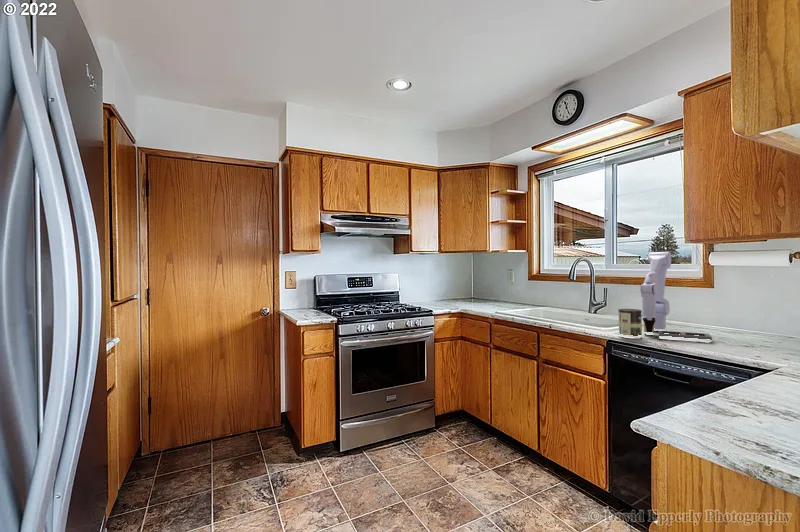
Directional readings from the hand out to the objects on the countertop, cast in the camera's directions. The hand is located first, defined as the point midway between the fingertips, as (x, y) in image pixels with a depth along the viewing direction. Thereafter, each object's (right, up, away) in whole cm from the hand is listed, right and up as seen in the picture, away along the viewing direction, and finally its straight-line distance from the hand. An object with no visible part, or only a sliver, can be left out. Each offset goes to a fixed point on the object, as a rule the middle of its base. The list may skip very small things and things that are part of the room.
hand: (649, 332), depth 202 cm
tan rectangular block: (0, -1, 0) cm, 1 cm away
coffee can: (-14, -2, -6) cm, 15 cm away
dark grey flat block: (+8, -1, -14) cm, 16 cm away
